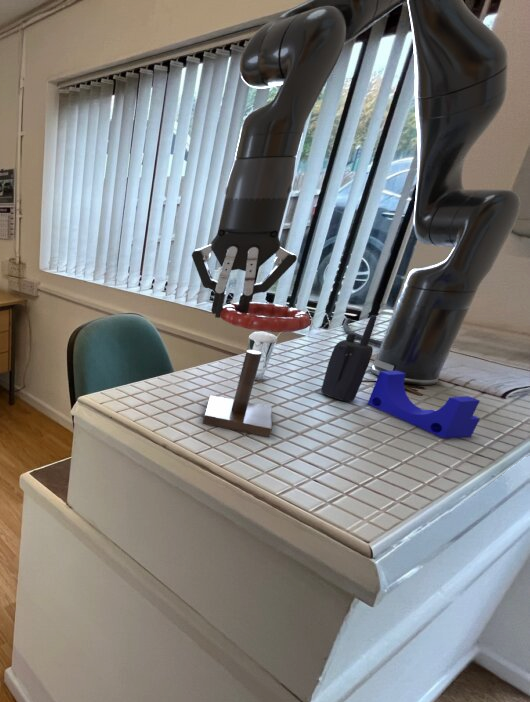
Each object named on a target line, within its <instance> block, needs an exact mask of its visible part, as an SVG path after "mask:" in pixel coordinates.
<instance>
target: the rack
mask: <svg viewBox="0 0 530 702" xmlns="http://www.w3.org/2000/svg"><path fill="white" fill-rule="evenodd" d="M261 355H262V353H261V352H259V351H255V350H248V351H247V350H246V352H245V356H244V358H243V359H244V360H243V364H242V366H241V371H240V375H239V379H238V382H237V387H236V391H235V395H234V398H228V397H222V396H216V395H209V398H208V401H207V405H206V407H205V411H204V414H203V419H202V424H204V425H210V426H212V427H213V426H214V427H218V428H223V429H228V430H232V431H237V432H242V433H247V434H251V435H255V436H261V437H266V438H270V437H271V434H272V430H273V406H272V405H267V404H261V403H255V402H250V400H251V399H250V398H251V396H252V392H253V388H254V385H255V381H256V380H255V377H256V373H257V370H258V366H259V362H260V359H261Z"/></svg>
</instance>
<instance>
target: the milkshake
mask: <svg viewBox="0 0 530 702" xmlns="http://www.w3.org/2000/svg"><path fill="white" fill-rule="evenodd" d="M282 333H283V332H278V334H277V335H275V334H273V333H272V332H267V331H254V332H251V334H249V336H248V341H247V346H246V347H247V348H246V351H248V350H255V351H259V352H261V353H262V355H261V359H260V362H259V366H258V370H257V373H256V377H255V381H256V380H257V381H259V380H263V377H264V375H265V373H266V370H267V368H268V365H269V362H270V359H271V356H272V354H273V351H274V349H275V348H276V344H277V342H278V338H279V337H280V335H281V334H282Z"/></svg>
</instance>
